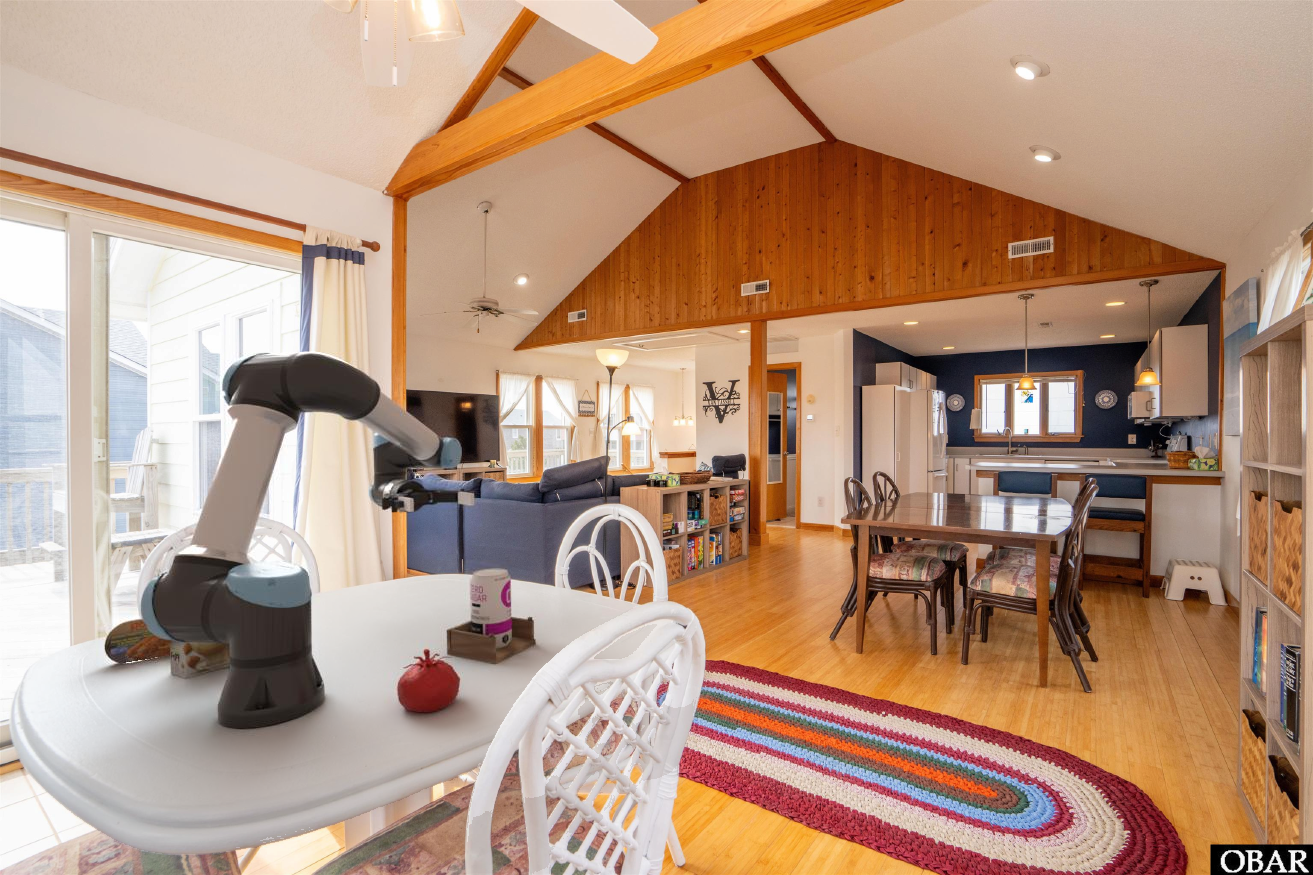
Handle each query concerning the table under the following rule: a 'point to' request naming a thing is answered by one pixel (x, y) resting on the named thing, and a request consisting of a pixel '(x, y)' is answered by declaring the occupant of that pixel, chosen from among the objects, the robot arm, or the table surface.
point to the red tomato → (428, 685)
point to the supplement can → (491, 604)
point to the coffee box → (197, 657)
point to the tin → (134, 643)
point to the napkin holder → (489, 642)
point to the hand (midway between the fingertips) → (443, 502)
